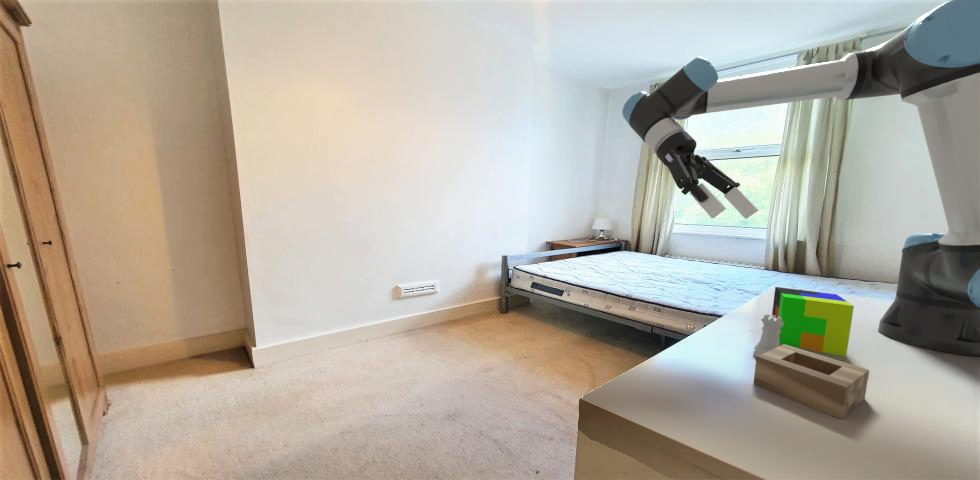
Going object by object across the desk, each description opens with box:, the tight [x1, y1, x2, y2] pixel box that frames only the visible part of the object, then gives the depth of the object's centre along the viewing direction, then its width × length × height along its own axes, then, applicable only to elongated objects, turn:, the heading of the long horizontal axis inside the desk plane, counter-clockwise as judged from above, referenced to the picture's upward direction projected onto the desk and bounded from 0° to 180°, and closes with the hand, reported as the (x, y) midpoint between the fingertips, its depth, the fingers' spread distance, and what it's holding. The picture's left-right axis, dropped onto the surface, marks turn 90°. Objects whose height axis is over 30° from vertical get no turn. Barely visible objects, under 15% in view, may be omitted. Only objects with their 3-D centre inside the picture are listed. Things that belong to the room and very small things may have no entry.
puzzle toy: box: [771, 286, 855, 357], centre depth 71 cm, size 10×10×10 cm
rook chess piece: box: [752, 314, 784, 358], centre depth 62 cm, size 4×4×8 cm
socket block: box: [753, 344, 870, 420], centre depth 51 cm, size 10×10×4 cm
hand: (736, 214), depth 66 cm, fingers open, 13 cm apart
